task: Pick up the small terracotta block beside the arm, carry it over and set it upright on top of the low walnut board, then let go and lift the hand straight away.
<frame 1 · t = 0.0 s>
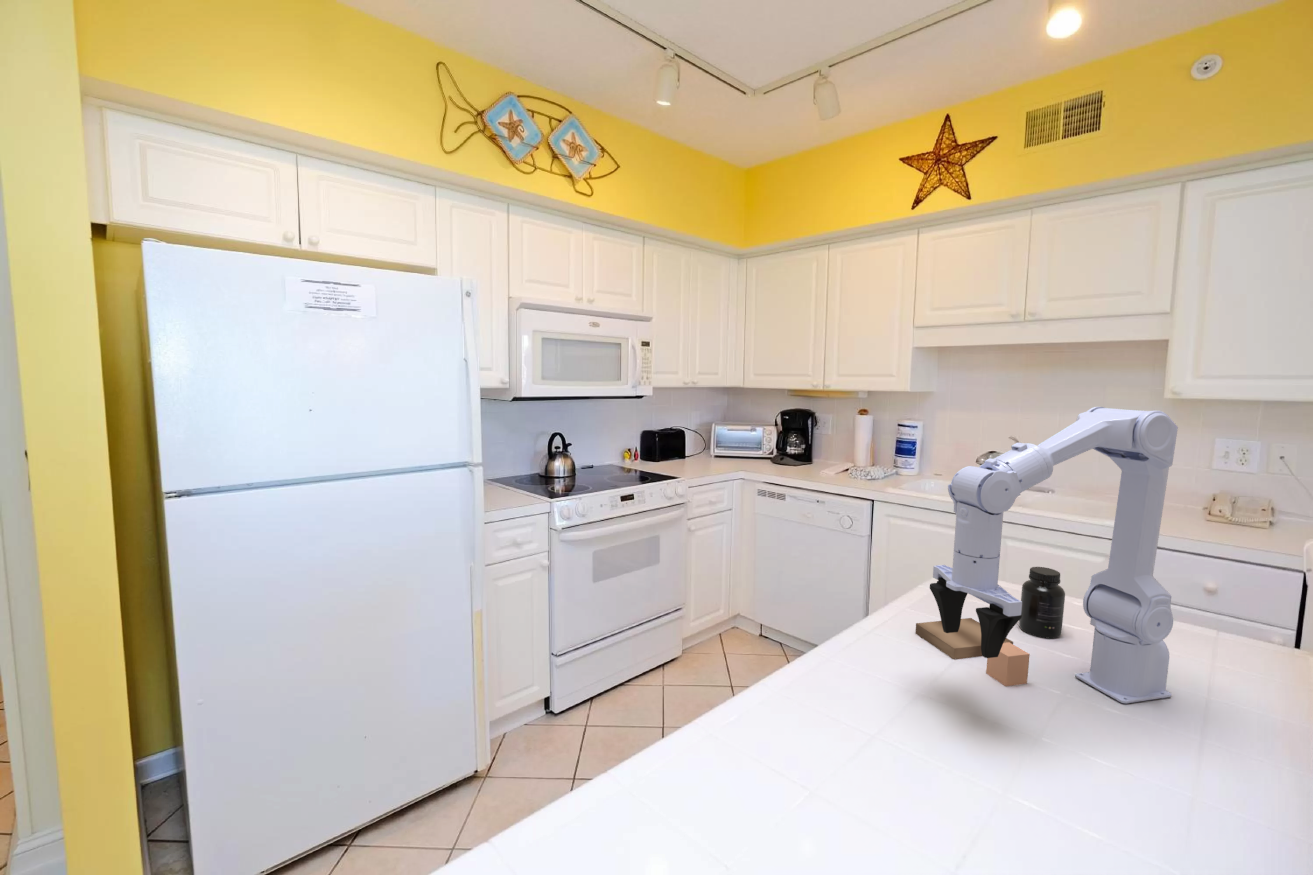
hand: (969, 643, 83), 10 cm above the countertop, tool pointing down, fingers open, 7 cm apart
walnut board: (962, 645, 105), on the countertop
terracotta block: (1006, 678, 93), on the countertop
supplement bottle: (1039, 632, 110), on the countertop
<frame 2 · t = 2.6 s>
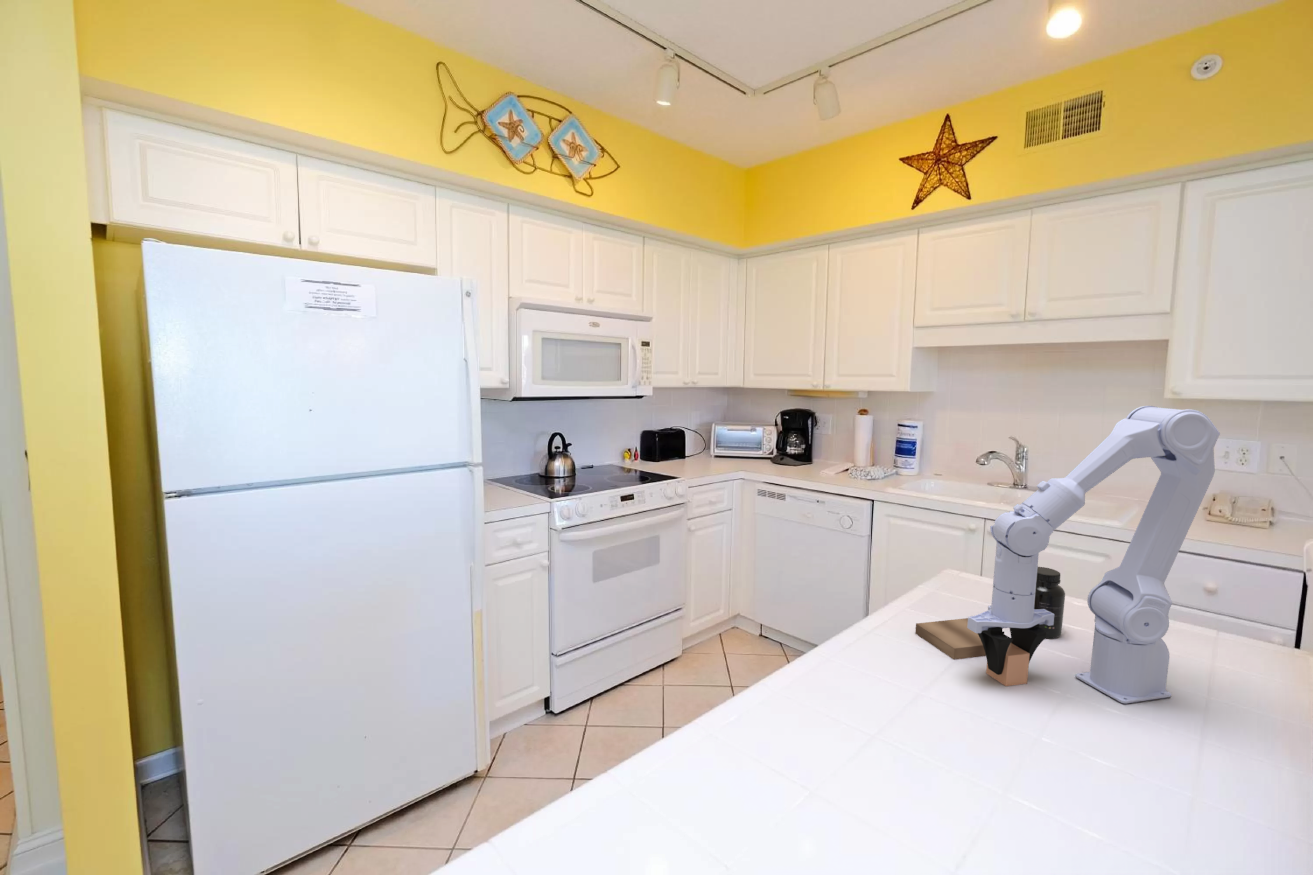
hand: (1006, 669, 93), 1 cm above the countertop, tool pointing down, fingers closed on terracotta block, 4 cm apart
terracotta block: (1006, 678, 93), on the countertop, touching gripper
everything else where it was.
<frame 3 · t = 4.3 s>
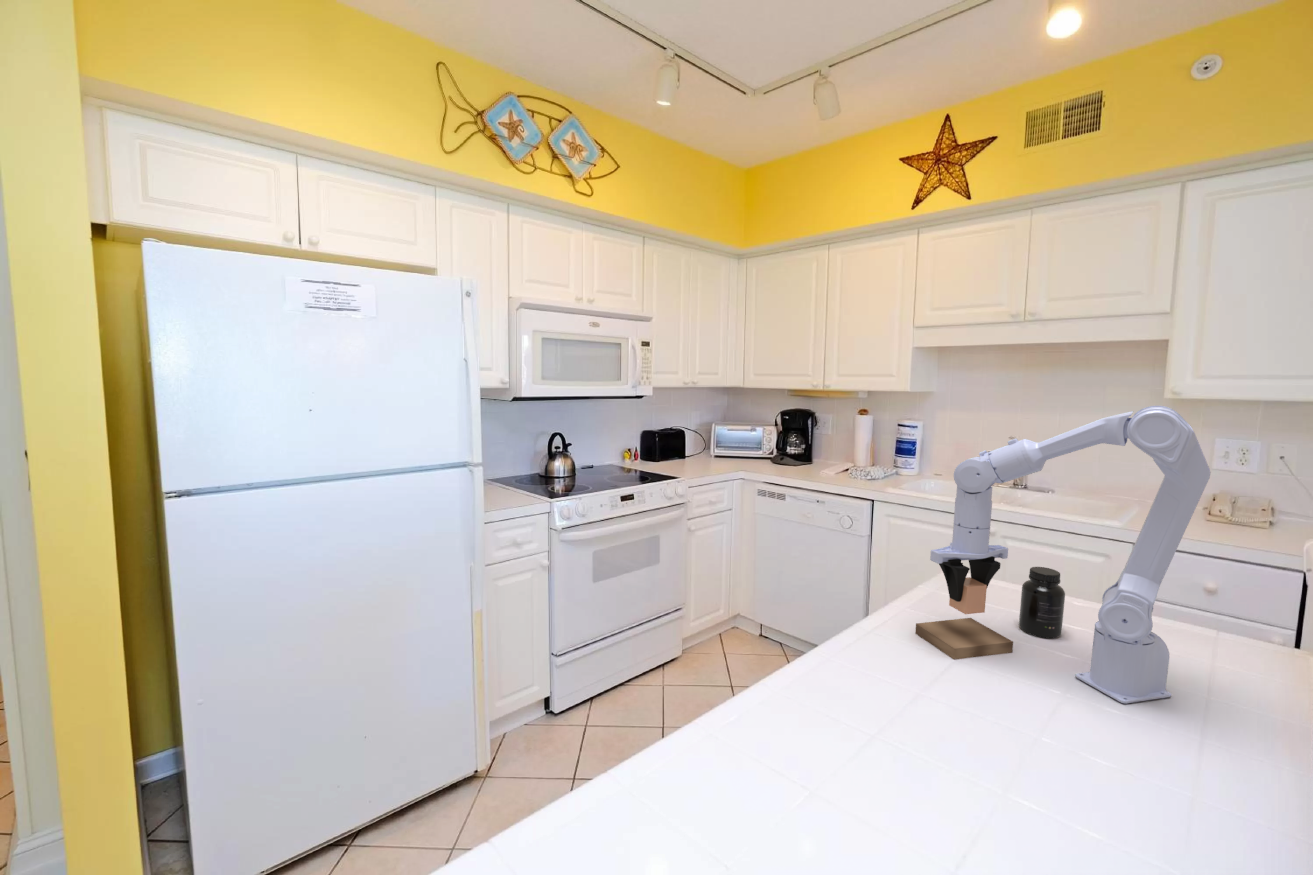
hand: (966, 598, 104), 8 cm above the countertop, tool pointing down, fingers closed on terracotta block, 4 cm apart
terracotta block: (966, 608, 103), point 7 cm above the countertop, touching gripper
everything else where it was.
when the fingers open (4 cm above the countertop, at t = 6.1 s): terracotta block stays where it is, resting on walnut board.
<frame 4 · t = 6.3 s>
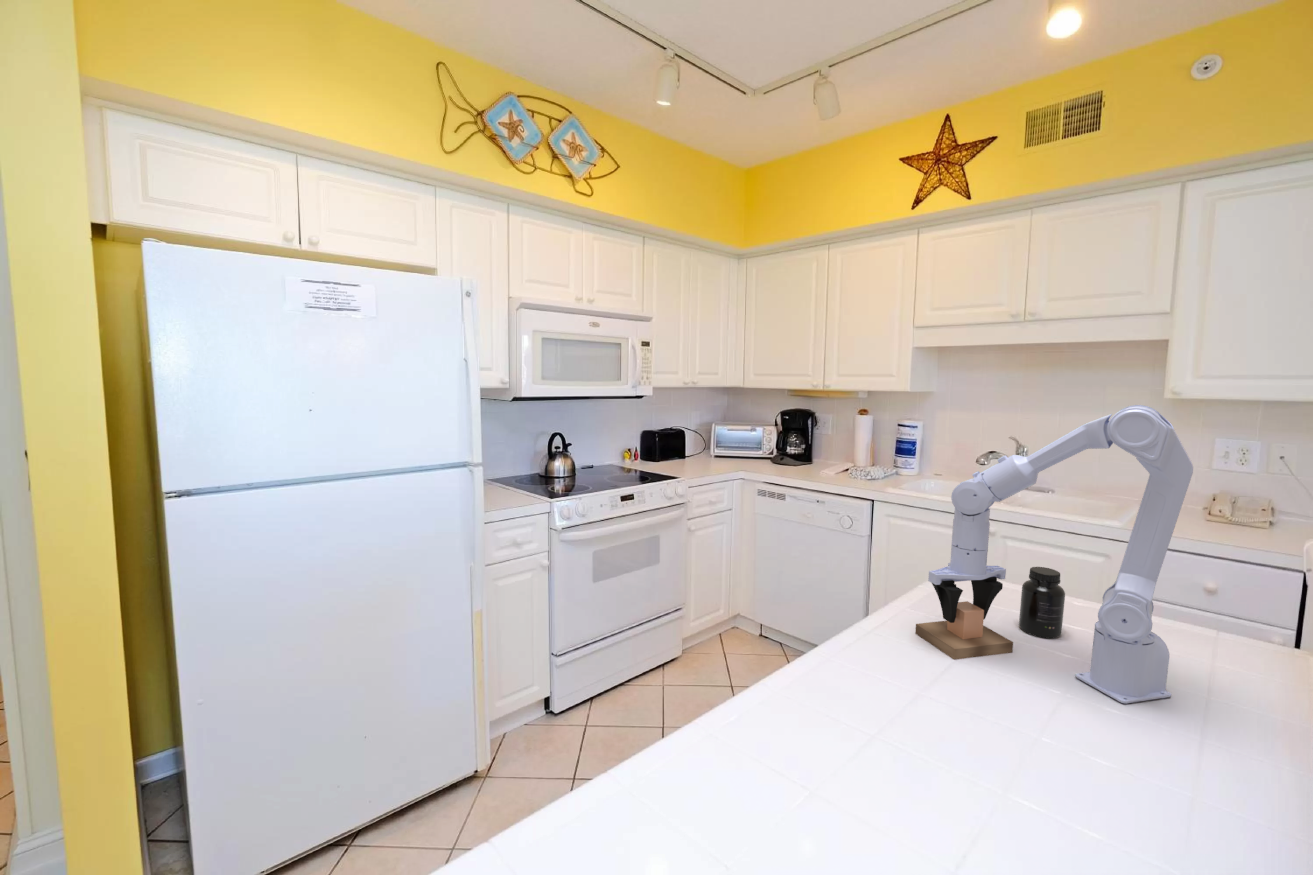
hand: (964, 618, 104), 5 cm above the countertop, tool pointing down, fingers open, 6 cm apart
walnut board: (962, 645, 105), on the countertop, touching terracotta block
terracotta block: (964, 632, 104), point 2 cm above the countertop, touching walnut board
everything else where it was.
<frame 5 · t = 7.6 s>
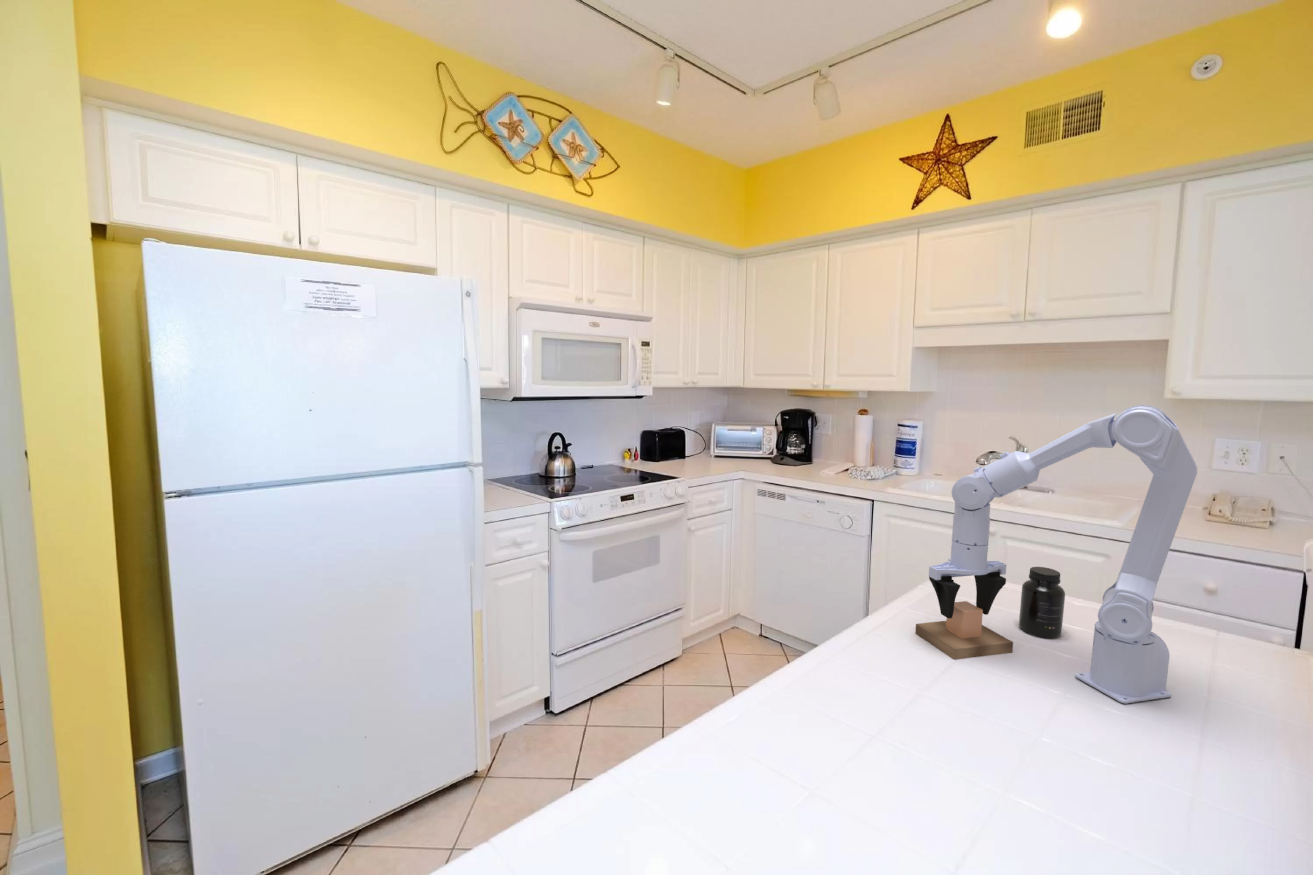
hand: (964, 614, 104), 5 cm above the countertop, tool pointing down, fingers open, 7 cm apart
nothing on the countertop moved.
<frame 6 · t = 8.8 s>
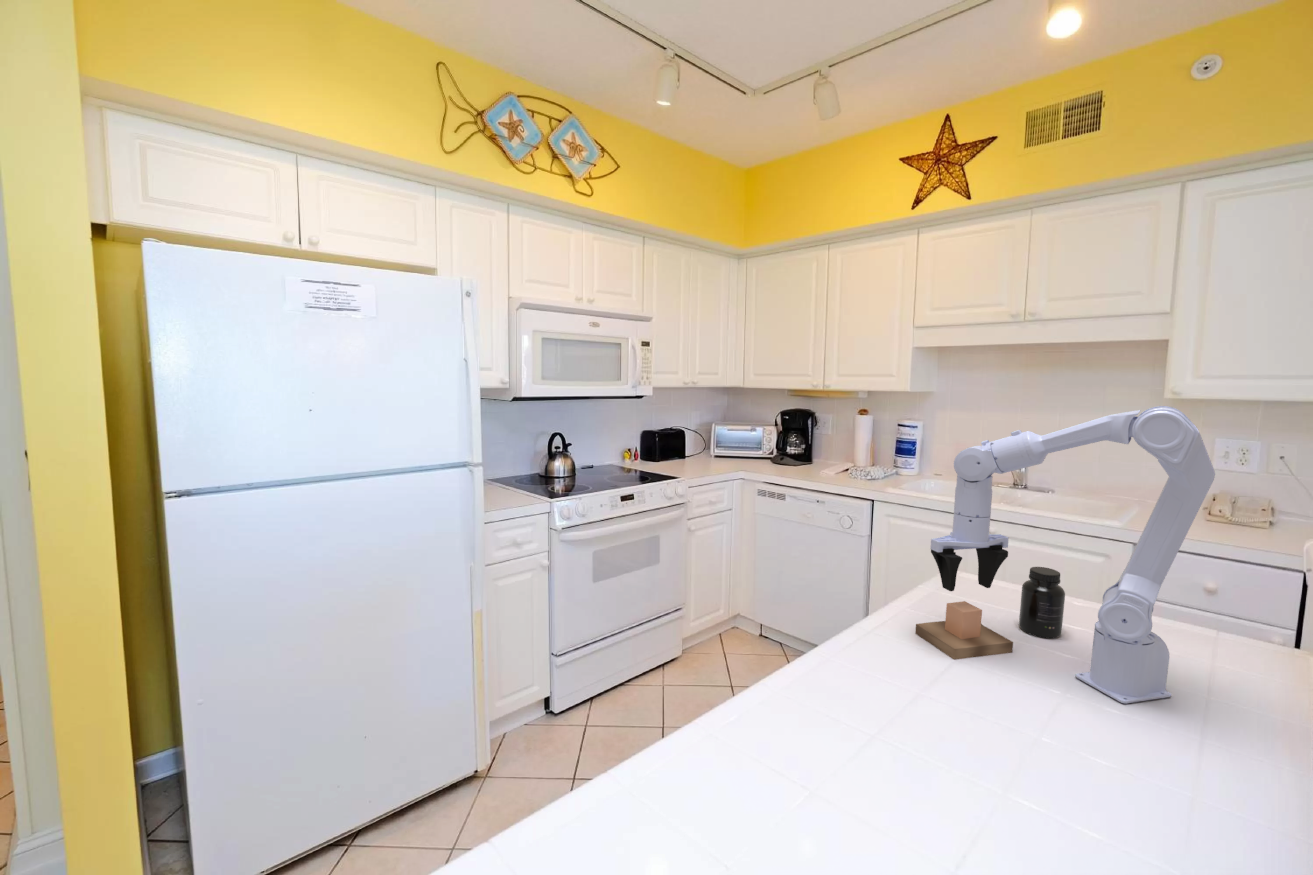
hand: (966, 587, 104), 10 cm above the countertop, tool pointing down, fingers open, 7 cm apart
nothing on the countertop moved.
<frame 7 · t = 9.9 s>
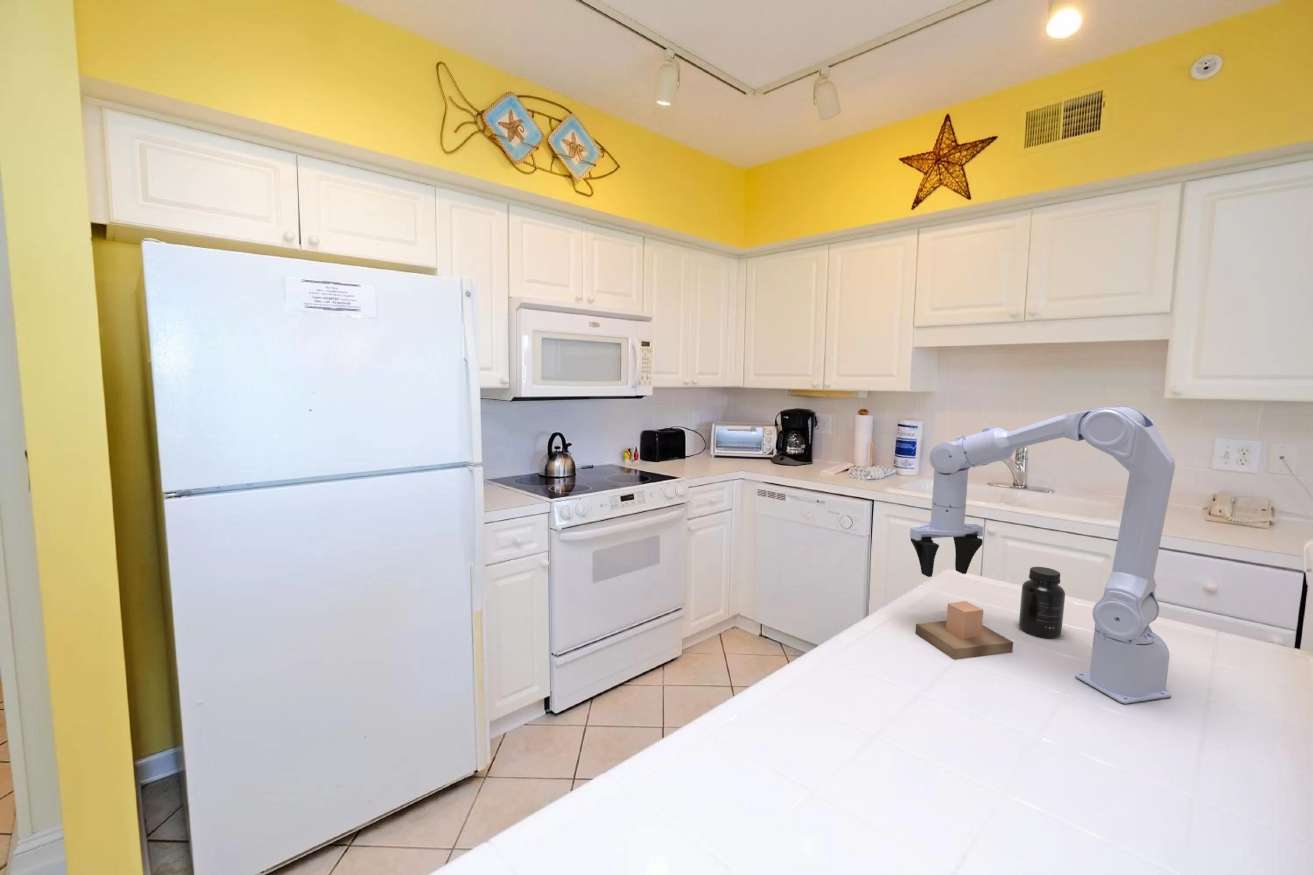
hand: (943, 573, 111), 10 cm above the countertop, tool pointing down, fingers open, 7 cm apart
nothing on the countertop moved.
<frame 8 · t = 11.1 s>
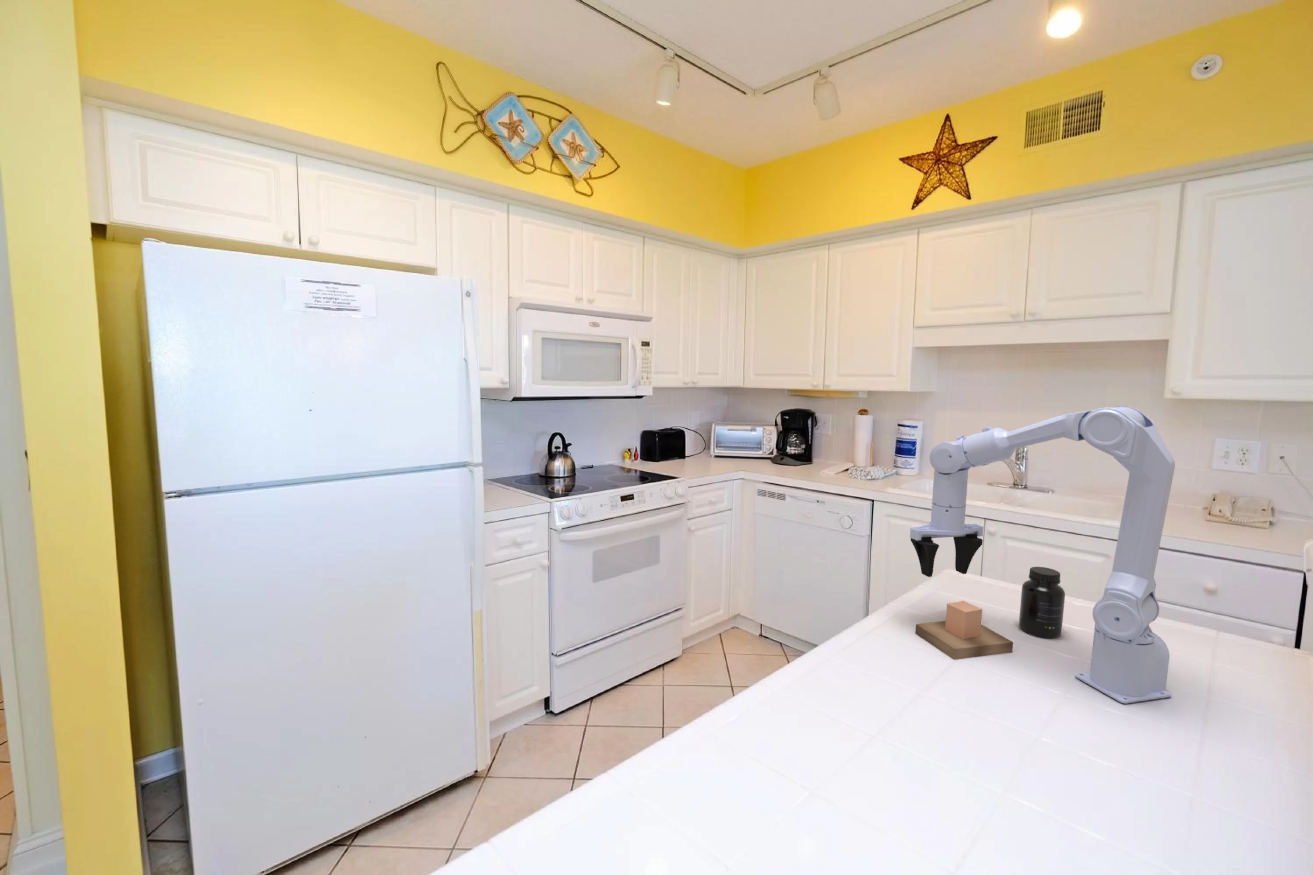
hand: (943, 573, 111), 10 cm above the countertop, tool pointing down, fingers open, 7 cm apart
walnut board: (961, 645, 105), on the countertop
terracotta block: (962, 632, 104), point 2 cm above the countertop
everything else where it was.
at the end: terracotta block inside the target area on the walnut board (0.1 cm from its centre), point 2.5 cm above the walnut board's base; terracotta block tilted 0°; the gripper is holding nothing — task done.
